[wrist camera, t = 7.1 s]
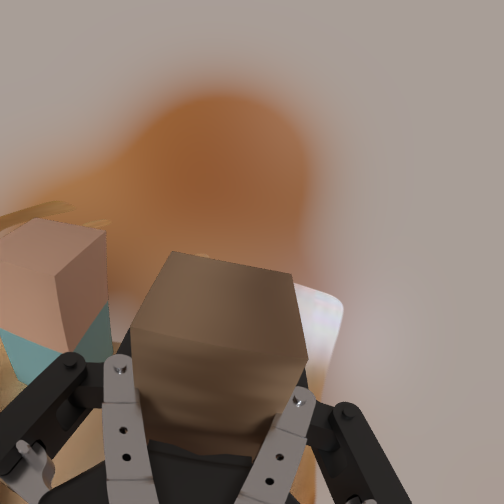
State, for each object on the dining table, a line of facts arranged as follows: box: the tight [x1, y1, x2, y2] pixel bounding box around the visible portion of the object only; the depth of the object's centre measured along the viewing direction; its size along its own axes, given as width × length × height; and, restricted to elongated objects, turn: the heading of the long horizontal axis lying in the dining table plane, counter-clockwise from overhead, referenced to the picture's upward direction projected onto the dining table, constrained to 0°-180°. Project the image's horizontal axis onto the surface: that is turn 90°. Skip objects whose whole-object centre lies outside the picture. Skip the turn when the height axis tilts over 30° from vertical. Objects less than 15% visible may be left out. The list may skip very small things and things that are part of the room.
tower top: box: [0, 217, 108, 354], centre depth 18 cm, size 7×7×6 cm
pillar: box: [130, 251, 308, 461], centre depth 12 cm, size 5×5×10 cm
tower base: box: [0, 301, 113, 385], centre depth 20 cm, size 7×7×6 cm
